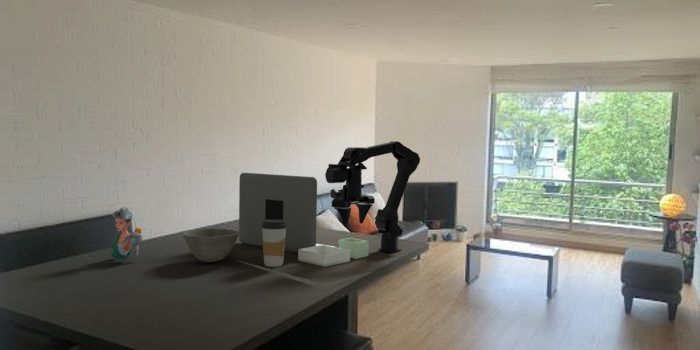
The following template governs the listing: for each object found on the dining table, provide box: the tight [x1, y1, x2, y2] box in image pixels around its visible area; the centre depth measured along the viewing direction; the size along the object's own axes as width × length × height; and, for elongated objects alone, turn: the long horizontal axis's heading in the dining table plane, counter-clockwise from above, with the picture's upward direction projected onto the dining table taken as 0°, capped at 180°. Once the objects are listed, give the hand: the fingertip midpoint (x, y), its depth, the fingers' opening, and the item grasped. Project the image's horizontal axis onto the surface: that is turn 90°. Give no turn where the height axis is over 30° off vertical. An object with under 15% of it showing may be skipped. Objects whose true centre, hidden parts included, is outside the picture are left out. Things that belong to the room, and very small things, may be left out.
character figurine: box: [111, 206, 143, 260], centre depth 185 cm, size 12×8×18 cm
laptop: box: [238, 172, 338, 254], centre depth 217 cm, size 38×29×29 cm
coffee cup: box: [262, 219, 287, 268], centre depth 181 cm, size 8×8×15 cm
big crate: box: [297, 244, 351, 268], centre depth 189 cm, size 12×13×4 cm
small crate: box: [337, 237, 370, 260], centre depth 198 cm, size 6×9×6 cm
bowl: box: [182, 227, 239, 263], centre depth 185 cm, size 19×19×10 cm
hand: (353, 224), depth 196 cm, fingers open, 9 cm apart
